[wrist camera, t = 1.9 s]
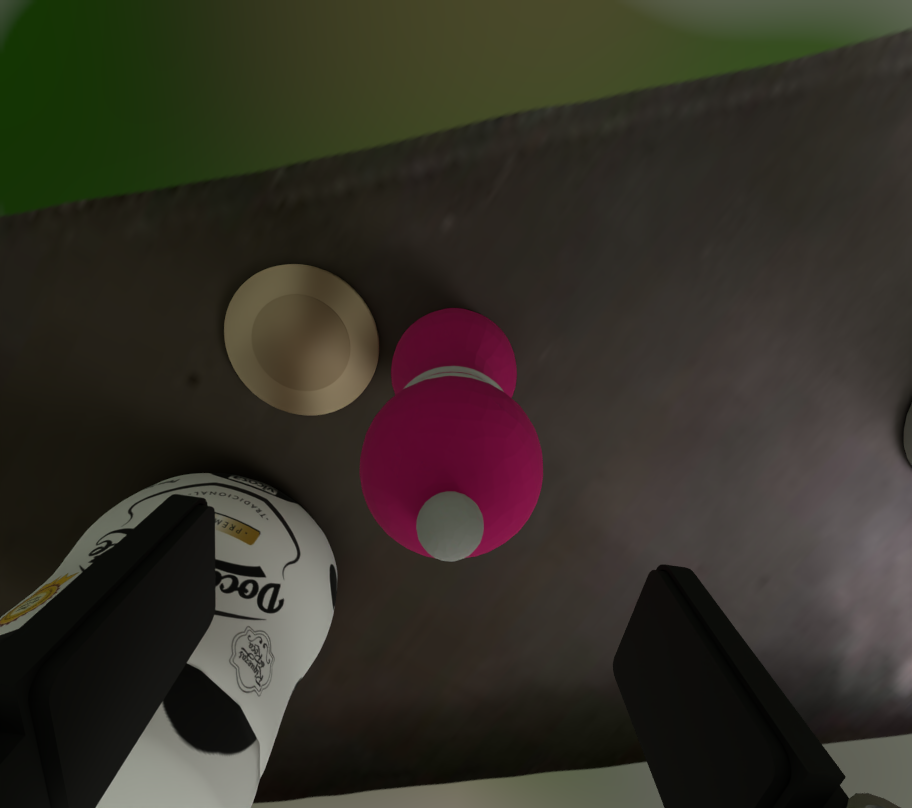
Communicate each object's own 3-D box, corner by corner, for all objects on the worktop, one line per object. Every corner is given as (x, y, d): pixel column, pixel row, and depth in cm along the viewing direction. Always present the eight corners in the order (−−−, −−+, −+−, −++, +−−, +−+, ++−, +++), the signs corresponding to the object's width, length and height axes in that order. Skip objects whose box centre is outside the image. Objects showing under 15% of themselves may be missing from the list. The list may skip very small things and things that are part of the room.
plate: (388, 280, 28) (386, 281, 27) (370, 423, 31) (368, 426, 30) (228, 250, 27) (223, 250, 26) (228, 399, 31) (223, 402, 30)
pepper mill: (383, 323, 29) (243, 471, 10) (486, 282, 28) (548, 360, 9) (425, 418, 31) (376, 685, 12) (522, 383, 30) (630, 613, 11)
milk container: (301, 430, 31) (120, 647, 14) (376, 611, 37) (309, 918, 20) (87, 483, 33) (-305, 735, 16) (190, 649, 39) (-17, 964, 22)
